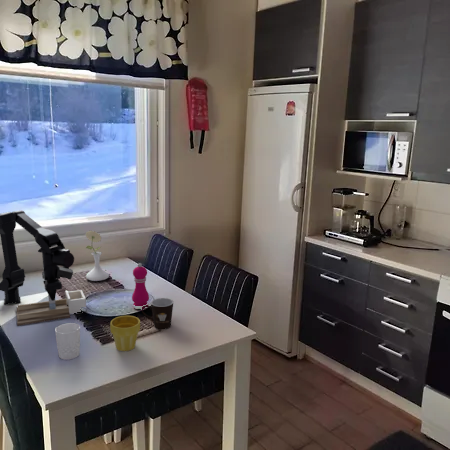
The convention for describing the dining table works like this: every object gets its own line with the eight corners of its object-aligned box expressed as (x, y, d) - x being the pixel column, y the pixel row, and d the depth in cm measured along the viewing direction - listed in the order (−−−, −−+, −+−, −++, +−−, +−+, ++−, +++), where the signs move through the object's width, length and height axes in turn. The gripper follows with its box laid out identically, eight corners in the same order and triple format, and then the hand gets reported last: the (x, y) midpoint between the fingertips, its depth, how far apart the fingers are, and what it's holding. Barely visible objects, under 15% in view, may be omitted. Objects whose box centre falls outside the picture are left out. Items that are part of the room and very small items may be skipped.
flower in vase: (114, 278, 227) (112, 230, 222) (96, 284, 218) (94, 235, 212) (96, 273, 234) (94, 227, 228) (79, 279, 224) (76, 231, 219)
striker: (48, 306, 187) (47, 288, 186) (54, 305, 188) (53, 287, 187) (50, 312, 181) (48, 293, 180) (56, 311, 182) (55, 293, 181)
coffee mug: (177, 323, 177) (177, 299, 175) (167, 332, 169) (167, 308, 167) (151, 318, 181) (150, 295, 179) (140, 327, 173) (140, 303, 171)
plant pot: (146, 347, 158) (146, 322, 156) (121, 357, 151) (120, 330, 148) (130, 337, 165) (129, 312, 163) (105, 346, 158) (104, 320, 156)
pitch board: (16, 309, 187) (16, 302, 186) (65, 302, 195) (64, 296, 195) (17, 325, 172) (16, 318, 171) (70, 317, 180) (69, 310, 180)
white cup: (60, 349, 155) (58, 323, 153) (83, 349, 156) (82, 322, 153) (54, 361, 147) (52, 333, 145) (78, 360, 148) (76, 333, 146)
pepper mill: (145, 311, 188) (144, 266, 183) (129, 309, 189) (128, 265, 185) (151, 305, 195) (151, 261, 190) (136, 303, 196) (135, 260, 192)
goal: (66, 305, 192) (65, 290, 191) (82, 302, 195) (81, 288, 194) (69, 314, 183) (68, 299, 182) (86, 311, 186) (85, 296, 185)
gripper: (74, 267, 176) (76, 304, 179) (68, 255, 192) (70, 289, 196) (44, 271, 171) (46, 308, 175) (40, 257, 188) (43, 292, 191)
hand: (52, 299), depth 184 cm, fingers closed on striker, 2 cm apart
